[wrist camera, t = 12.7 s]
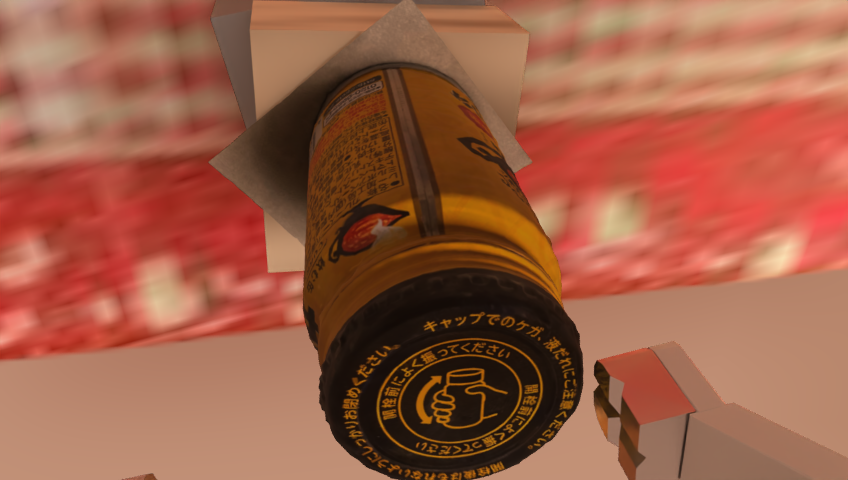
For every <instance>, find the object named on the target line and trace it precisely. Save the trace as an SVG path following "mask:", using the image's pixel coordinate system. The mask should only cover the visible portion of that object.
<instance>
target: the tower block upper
mask: <svg viewBox="0 0 848 480" xmlns="http://www.w3.org/2000/svg"><path fill="white" fill-rule="evenodd" d="M397 5H398V4H389V3H347V2H304V1H261V0H253V5H252V14H251V22H250V41H251V54H252V67H253V80H254V93H255V106H256V119H257V121H258V120H259V119H260V118H262V117H263V116H264V115H265V114H266V113H268V112H269V111H270V110H271V109H272V108H274V107H275V106H276V105H277V104H279V103H281V102H282V101H283V100H284V99H285V98H286V97H288V96H289V95H290V94H291V93H292V92H293V91H294V90H295V89H296V88H297V87H298V86H300V85H301V84H302V83H304V82H305V81H306V80H307V79H308V78H309V77H310V76H312V75H313V74H314V73H315V72H316V71H317V70H318V69H320V68H321V67H323V66H324V65H325V64H326V63H327V62H328V61H329V60H330V59H332V58H333V57H334V56H335V55H337V54H338V53H339V52H340V51H341V50H343V49H344V48H345V47H346V46H348V45H349V44H351V43H352V42H353V41H354V40H355V39H356V38H357V37H358V36H360V35H361V34H362V33H363V32H364V31H366V30H367V29H368V28H369V27H371V26H372V25H373V24H374V23H376V22H377V21H378V20H379V19H381V18H382V17H383V16H384V15H385V14H387V13H388V12H389V11H390V10H392V9H393V8H394V7H395V6H397ZM415 5H416V6H417V7H418V9H419V10H420V11H421V13H422V14H423V15H424V17H425V18H426V19H427V21H428V22H429V23H430V25H431V26H432V28H433V29H434V30H435V32H436V33H437V34H438V36H439V37H440V38H441V39H442V40H443V42H444V43H445V45H446V46H447V48H448V49H449V50H450V52H451V53H452V54H453V56H454V57H455V58H456V60H457V61H458V62H459V64H460V65H461V66H462V68H463V69H464V70H465V72H466V73H467V74H468V76H469V77H470V78H471V80H472V81H473V82H474V84H475V85H476V86H477V88H478V89H479V91H480V92H481V93H482V95H483V96H484V97H485V99H486V100H487V101H488V103H489V104H490V105H491V107H492V108H493V109H494V111H495V112H496V113H497V115H498V116H499V118H500V119H501V120H502V122H503V123H504V124H505V126H506V127H507V128H508V130H509V131H510V132H511V134H512V135H513V136H514V137H515V132H516V126H517V119H518V112H519V105H520V99H521V92H522V85H523V78H524V71H525V65H526V58H527V51H528V44H529V37H530V33H529V32H527V31H526V30H525V29H524V28H522V27H521V26H520V25H519V24H517V23H516V22H515V21H514V20H513V19H511V18H510V17H509V16H508V15H506V14H505V13H504V12H503V11H501V10H500V9H499V8H498V7H497V6H473V5H431V4H415ZM263 211H264V210H263ZM264 224H265V237H266V250H267V263H268V273H271V272H289V271H304V265H305V247H304V246H303V245H302V244H301V243H300V242H299V240H298V239H297V238H295V237H293V236H292V235H291V234H290V233H289V232H287V231H286V230H285V229H284V228H283V227H282V226H281V225H280V224H279V223H278V222H277V221H276V220H275V219H274V218H272V217H271V216H270V215H269V214H268V213H267V212H265V211H264Z"/></svg>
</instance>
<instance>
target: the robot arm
mask: <svg viewBox="0 0 848 480" xmlns="http://www.w3.org/2000/svg"><path fill="white" fill-rule="evenodd" d="M594 376H595V378H596V379H597V381H598V383H599V386H598V387H597V388H596V390H595V391H594V406H595V411H596V415H597V419H598V422H599V424H600V426H601V429H602V431H603V433H604V435H605V437H606V439H607V441H609V442H611V443H612V444H614V445H616V446H618V447H619V453H618V461H619V463H620V465H621V467H622V468H623V470H624V472H625V474H626V476H627V478H628V480H848V458H847V457H845V456H843V455H841V454H839V453H837V452H835V451H833V450H831V449H828V448H826V447H824V446H822V445H820V444H818V443H816V442H814V441H812V440H810V439H808V438H806V437H804V436H801V435H799V434H797V433H795V432H793V431H791V430H789V429H787V428H785V427H783V426H781V425H779V424H777V423H774V422H772V421H771V420H768V419H766V418H764V417H762V416H760V415H758V414H756V413H754V412H752V411H750V410H748V409H746V408H744V407H742V406H739V405H737V404H735V403H731V404H725V402H724V401H723V400H722V399H721V397H720V396H719V395H718V393H717V392H716V391H715V390H714V388H713V387H712V386H711V385H710V383H709V382H708V381H707V380H706V378H705V377H704V376H703V375H702V373H701V372H700V370H699V369H698V368H697V367H696V365H695V364H694V363H693V361H692V360H691V359H690V358H689V356H688V355H687V354H686V353H685V351H684V350H683V349H682V347H681V346H680V345H679V344H678V343H676V342H674V341H671V342H668V343H663V344H660V345H656V346H652V347H648V348H642V349H639V350H635V351H631V352H627V353H623V354H620V355H616V356H612V357H608V358H604V359H601V360H597V361H596V363H595V365H594ZM122 480H157V479H156V478H155V476H154V474H153V473H152V474H145V475H140V476H136V477H132V478H127V479H122Z"/></svg>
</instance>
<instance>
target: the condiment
mask: <svg viewBox="0 0 848 480" xmlns="http://www.w3.org/2000/svg"><path fill="white" fill-rule="evenodd" d="M208 163H209V164H211V165H212V166H213V167H214V168H215V169H217V170H218V171H219V172H220V173H221V174H222V175H223V176H224V177H226V178H227V179H229V180H230V181H232V182H233V183H234V184H235V185H236V186H237V187H238V188H239V189H240V190H241V191H243V192H244V193H245V194H246V195H247V196H248V197H250V198H251V199H252V200H253V201H254V202H255V203H256V204H257V205H258V206H260V207H261V208H262V209H263V210H264V211H265V212H267V213H268V214H269V215H270V216H271V217H272V218H274V219H275V220H276V221H277V222H278V223H279V224H280V225H281V226H282V227H283V228H284V229H285V230H286V231H287V232H289V233H290V234H291V235H292V236H293V237H295V238H297V239H298V240H299V242H300V243H301V244H302V245H303V246H304V247H305V265H304V288H303V312H304V318H305V323H306V326H307V329H308V333H309V337H310V340H311V341H312V343H313V345H314V347H315V349H316V350H317V351H318V356H319V364H320V367H321V371H322V375H321V376H320V378H319V380H320V384H319V389H320V398H319V399H320V400H319V403H320V405H321V408H322V410H323V411H325V417H326V421H327V422H328V423H329V425H330V429H331V431H332V434H333V436H334V438H335V439H336V441H337V442H338V443H339V444H340V445H341V446H342V447H343V448H344V449H345V450H346V451H347V452H348V453H349V454H350V455H351V456H353V457H354V458H356V459H358V460H359V461H360V462H361V463H362V464H363V465H365V466H366V467H367V468H369V469H372V470H375V471H378V472H379V473H382V474H384V475H387V476H388V477H390V478H393V479H398V480H472V479H477V478H481V477H485V476H489V475H492V474H494V473H497V472H500V471H503V470H505V469H507V468H510V467H512V466H514V465H516V464H519V463H520V462H521V461H522V460H523V459H525V458H527V457H528V456H529V455H531V454H533V453H534V452H536V451H537V450H538V449H540V448H541V447H542V446H543V445H544V444H545V443H547V442H549V441H551V440H552V439H553V438H554V437H555V435H556V434H557V433H558V431H559V430H560V428H561V427H562V426H563V424H564V423H565V422H566V421H567V420H568V418H569V417H570V416H571V415H572V414H573V413H574V411H575V410H576V408H577V406H578V404H579V401H580V397H581V393H582V388H583V356H582V351H581V348H580V340H579V339H580V335H579V333H578V331H577V329H576V326H575V324H574V322H573V321H572V320H571V319H570V318H569V317H568V315H567V314H566V312H565V311H564V307H563V303H562V300H561V289H562V284H561V272H560V267H559V264H558V260H557V258H556V256H555V254H554V252H553V249H552V243H551V240H550V239H549V237H548V236H547V235H546V234H545V232H544V230H543V229H542V227H541V225H540V223H539V221H538V219H537V217H536V215H535V213H534V211H533V210H532V208H531V206H530V204H529V203H528V201H527V198H526V197H525V195H524V193H523V192H522V190H521V188H520V186H519V183H518V181H517V179H516V177H515V174H514V173H516V172H517V171H519V170H520V169H522V168H523V167H525V166H527V165H529V164H531V163H532V161H531V159H530V158H529V157H528V155H527V154H526V153H525V151H524V150H523V149H522V147H521V146H520V145H519V143H518V142H517V141H516V139H515V137H514V136H513V135H512V134H511V132H510V131H509V130H508V128H507V127H506V126H505V124H504V123H503V122H502V120H501V119H500V118H499V116H498V115H497V113H496V112H495V111H494V109H493V108H492V107H491V105H490V104H489V103H488V101H487V100H486V99H485V97H484V96H483V95H482V93H481V92H480V91H479V89H478V88H477V86H476V85H475V84H474V82H473V81H472V80H471V78H470V77H469V76H468V74H467V73H466V72H465V70H464V69H463V68H462V66H461V65H460V64H459V62H458V61H457V60H456V58H455V57H454V56H453V54H452V53H451V52H450V50H449V49H448V48H447V46H446V45H445V43H444V42H443V40H442V39H441V38H440V37H439V36H438V34H437V33H436V32H435V30H434V29H433V28H432V26H431V25H430V23H429V22H428V21H427V19H426V18H425V17H424V15H423V14H422V13H421V11H420V10H419V9H418V7H417V6H416V5H415V3H414V2H413V1H412V0H403V1H401V2H400V3H399V4H398V5H397V6H395V7H394V8H393V9H392V10H390V11H389V12H388V13H387V14H385V15H384V16H383V17H382V18H381V19H379V20H378V21H377V22H376V23H374V24H373V25H372V26H371V27H369V28H368V29H367V30H366V31H364V32H363V33H362V34H361V35H360V36H358V37H357V38H356V39H355V40H354V41H353V42H352V43H351V44H349V45H348V46H346V47H345V48H344V49H343V50H341V51H340V52H339V53H338V54H337V55H335V56H334V57H333V58H332V59H330V60H329V61H328V62H327V63H326V64H325V65H324V66H323V67H321V68H320V69H318V70H317V71H316V72H315V73H314V74H313V75H312V76H310V77H309V78H308V79H307V80H306V81H305V82H304V83H302V84H301V85H300V86H298V87H297V88H296V89H295V90H294V91H293V92H292V93H291V94H290V95H289V96H288V97H286V98H285V99H284V100H283V101H282V102H281V103H279V104H277V105H276V106H275V107H274V108H272V109H271V110H270V111H269V112H268V113H266V114H265V115H264V116H263V117H262V118H260V119H259V120H258V121H257V122H255V123H254V124H253V125H251V126H250V127H249V128H248V129H247V130H246V131H245V132H243V133H242V134H241V135H240V136H239V137H238V138H237V139H236V140H235V141H234V142H232V143H231V144H230V145H229V146H228V147H226V148H225V149H224V150H222V151H221V152H220V153H219V154H218V155H216V156H215V157H214V158H213V159H212V160H210V161H209V162H208Z"/></svg>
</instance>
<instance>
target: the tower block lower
mask: <svg viewBox="0 0 848 480" xmlns="http://www.w3.org/2000/svg"><path fill="white" fill-rule="evenodd" d="M261 1H304V2H347V3H389V4H399V3H400V2H401V1H403V0H261ZM412 1H413V2H414V3H415V4H431V5H473V6H485V1H484V0H412ZM252 5H253V0H216V2H215V5H214V8H213V11H212V14H211V17H210V19H211V22H212V25H213V29H214V32H215V35H216V38H217V41H218V44H219V47H220V50H221V53H222V56H223V59H224V62H225V65H226V68H227V71H228V74H229V77H230V80H231V84H232V87H233V90H234V93H235V96H236V99H237V102H238V105H239V108H240V111H241V114H242V117H243V120H244V123H245V126H246V129H248V128H249V127H250V126H251V125H253V124H254V123H255V122H257V119H256V106H255V93H254V80H253V67H252V54H251V41H250V22H251V14H252Z"/></svg>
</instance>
